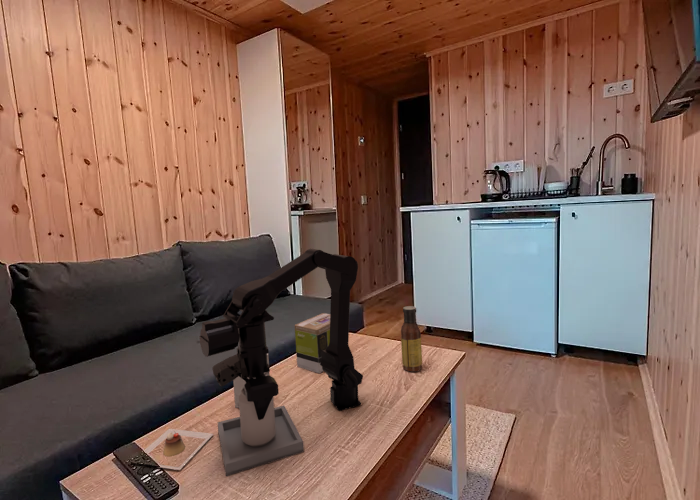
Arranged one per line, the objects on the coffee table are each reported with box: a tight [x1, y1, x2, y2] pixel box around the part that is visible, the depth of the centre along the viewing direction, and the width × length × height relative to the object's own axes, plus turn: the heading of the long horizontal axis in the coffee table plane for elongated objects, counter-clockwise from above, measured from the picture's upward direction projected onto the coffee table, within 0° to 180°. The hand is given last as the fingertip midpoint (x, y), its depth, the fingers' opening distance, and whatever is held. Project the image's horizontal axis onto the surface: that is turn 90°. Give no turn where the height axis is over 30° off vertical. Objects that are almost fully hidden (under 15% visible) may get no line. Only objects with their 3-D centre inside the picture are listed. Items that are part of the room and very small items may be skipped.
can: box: [238, 387, 276, 446], centre depth 83 cm, size 8×8×12 cm
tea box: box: [294, 312, 330, 374], centre depth 124 cm, size 15×10×15 cm
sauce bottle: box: [400, 305, 423, 372], centre depth 117 cm, size 6×6×20 cm
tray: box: [217, 405, 305, 477], centre depth 84 cm, size 16×16×2 cm
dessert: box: [143, 428, 214, 471], centre depth 82 cm, size 12×12×5 cm
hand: (257, 410), depth 83 cm, fingers closed on can, 7 cm apart
